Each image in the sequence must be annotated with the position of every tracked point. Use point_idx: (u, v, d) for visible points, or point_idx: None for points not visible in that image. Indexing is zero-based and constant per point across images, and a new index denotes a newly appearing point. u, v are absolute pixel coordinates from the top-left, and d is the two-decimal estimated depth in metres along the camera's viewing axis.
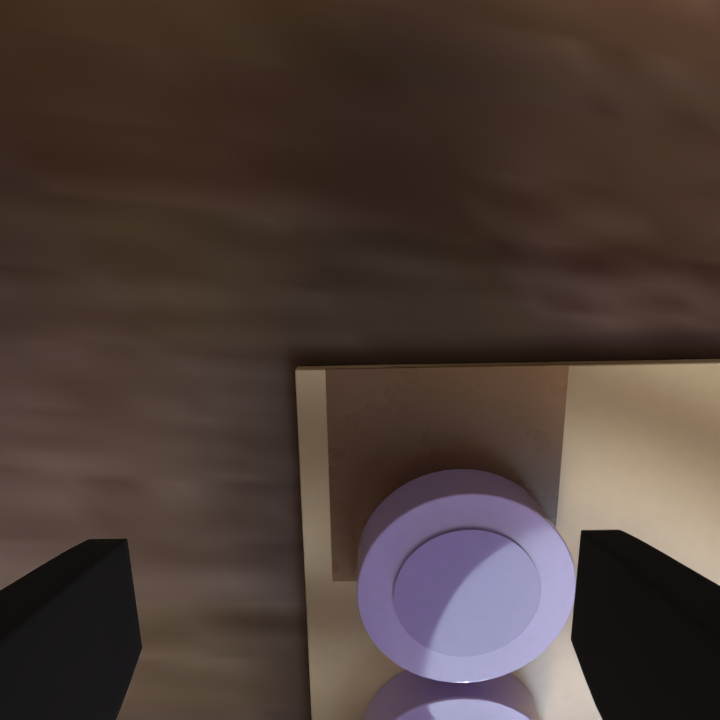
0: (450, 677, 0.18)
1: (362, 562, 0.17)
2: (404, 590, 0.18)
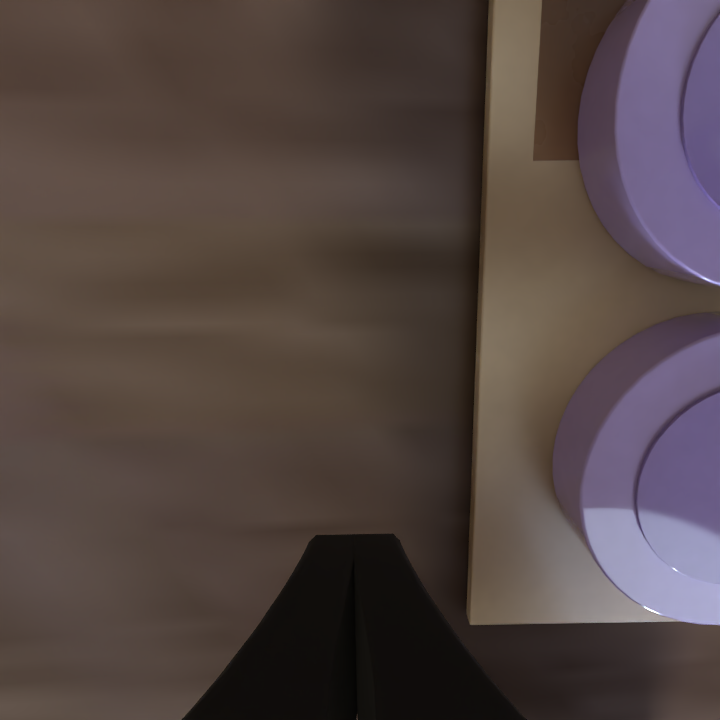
0: None
1: (631, 33, 0.10)
2: (702, 91, 0.10)
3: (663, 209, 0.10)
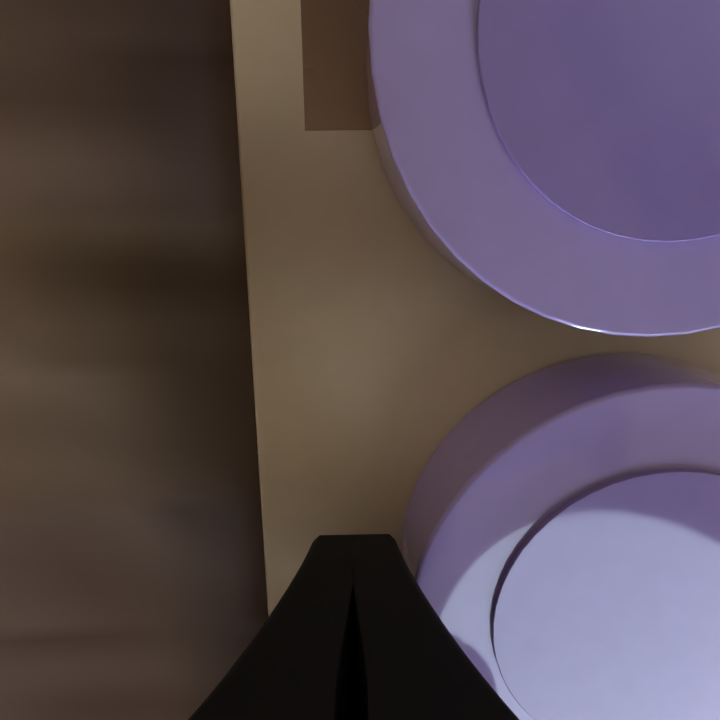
0: (617, 318, 0.07)
1: None
2: (510, 7, 0.06)
3: (461, 202, 0.06)
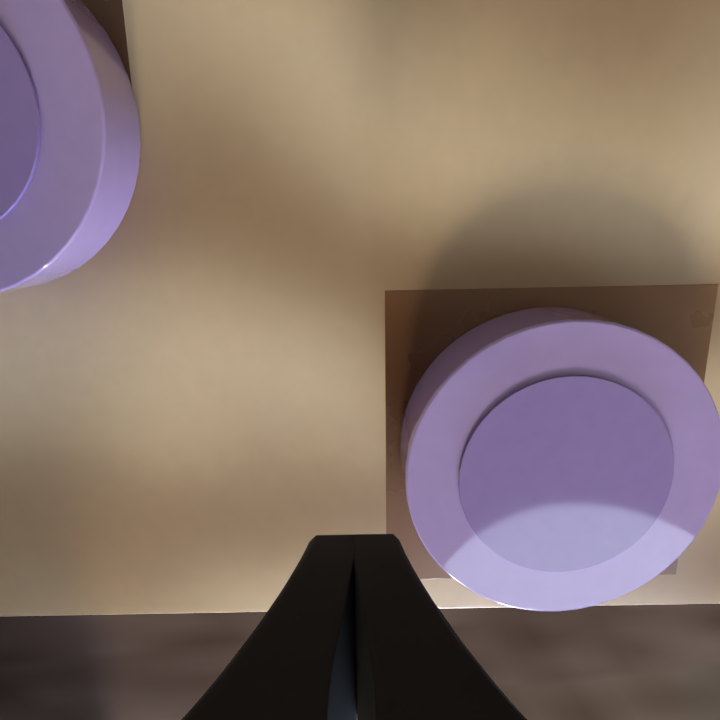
0: None
1: None
2: None
3: None
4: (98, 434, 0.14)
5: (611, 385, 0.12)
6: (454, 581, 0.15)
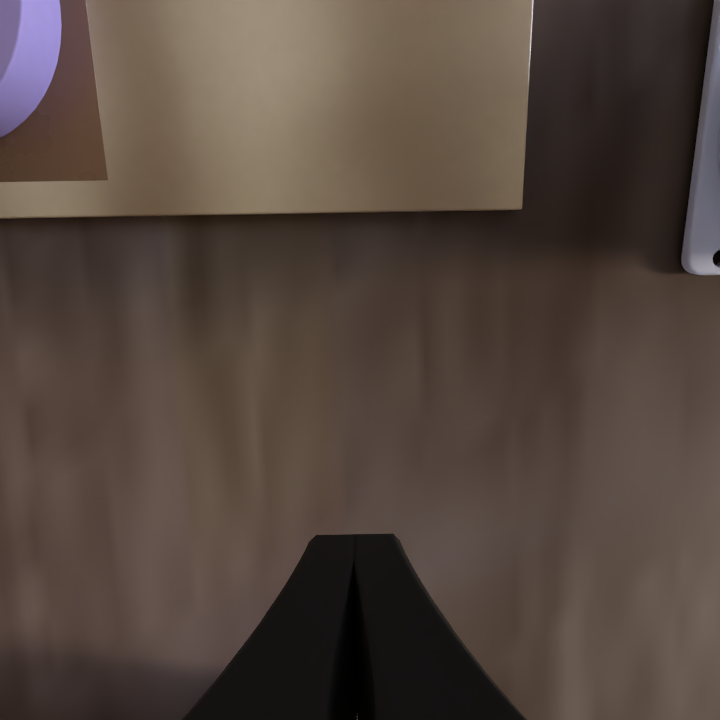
0: None
1: None
2: None
3: None
4: None
5: None
6: None
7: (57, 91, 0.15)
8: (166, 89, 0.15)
